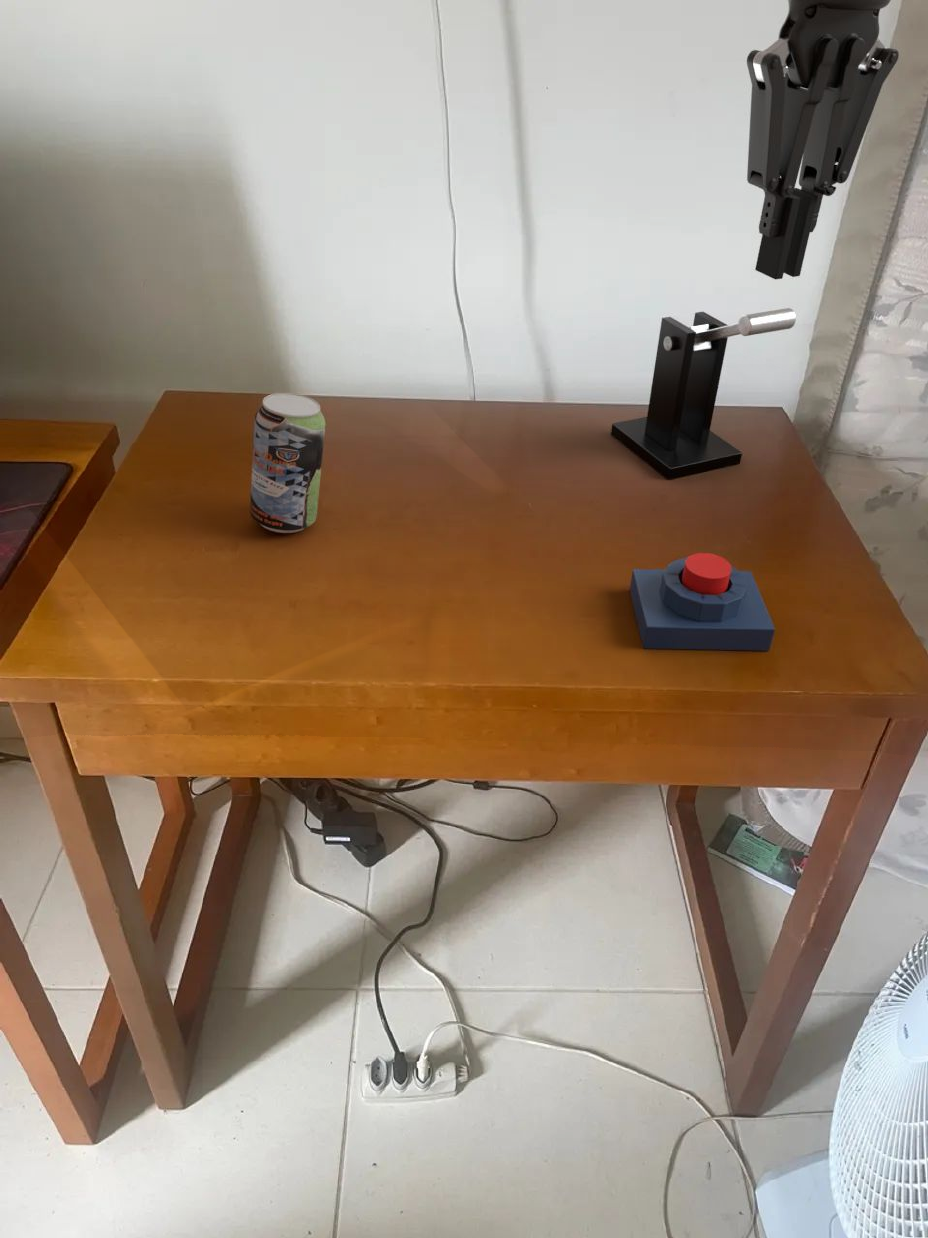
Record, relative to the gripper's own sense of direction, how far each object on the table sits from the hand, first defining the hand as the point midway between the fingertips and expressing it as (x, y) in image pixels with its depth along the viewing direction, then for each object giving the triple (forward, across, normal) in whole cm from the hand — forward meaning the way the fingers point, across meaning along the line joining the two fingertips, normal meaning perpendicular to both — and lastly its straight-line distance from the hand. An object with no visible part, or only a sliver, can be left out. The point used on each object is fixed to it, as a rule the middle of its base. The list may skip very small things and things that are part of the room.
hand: (777, 272), depth 85 cm
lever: (+8, 0, -5) cm, 9 cm away
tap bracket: (+22, 0, -10) cm, 24 cm away
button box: (+22, +16, +16) cm, 31 cm away
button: (+18, +16, +16) cm, 29 cm away
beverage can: (+22, +42, -11) cm, 48 cm away
